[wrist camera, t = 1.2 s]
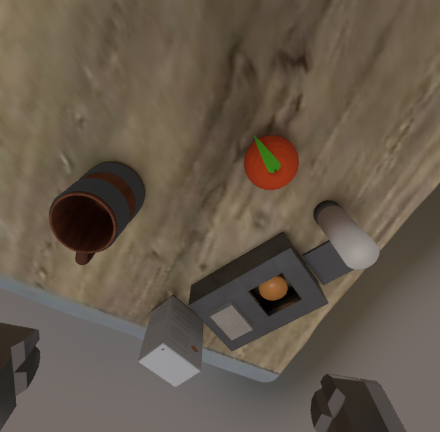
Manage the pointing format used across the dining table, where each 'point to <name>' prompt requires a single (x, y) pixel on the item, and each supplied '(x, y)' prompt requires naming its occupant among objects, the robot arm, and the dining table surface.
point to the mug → (96, 209)
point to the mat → (326, 262)
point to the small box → (173, 342)
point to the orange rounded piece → (274, 288)
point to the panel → (245, 301)
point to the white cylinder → (346, 236)
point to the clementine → (271, 162)
